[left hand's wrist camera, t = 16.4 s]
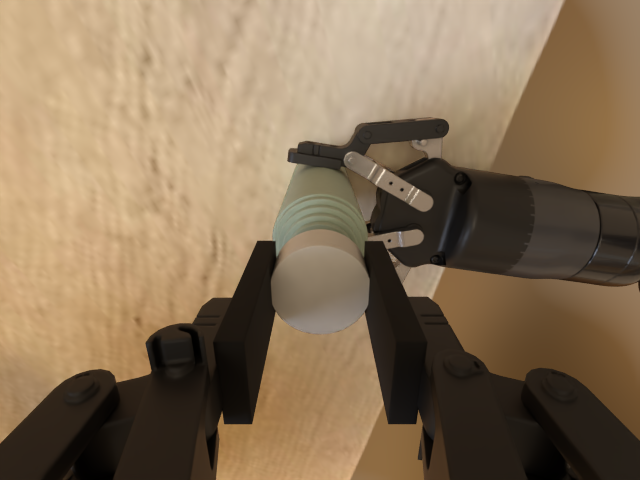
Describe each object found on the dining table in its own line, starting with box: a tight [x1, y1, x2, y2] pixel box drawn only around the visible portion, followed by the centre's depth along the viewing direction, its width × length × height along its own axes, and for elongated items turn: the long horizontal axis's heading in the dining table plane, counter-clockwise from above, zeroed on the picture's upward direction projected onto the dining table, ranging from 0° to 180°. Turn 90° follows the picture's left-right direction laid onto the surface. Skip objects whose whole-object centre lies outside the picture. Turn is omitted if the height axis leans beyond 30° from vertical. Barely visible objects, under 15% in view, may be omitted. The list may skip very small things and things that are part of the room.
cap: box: [271, 229, 370, 334], centre depth 14 cm, size 4×4×2 cm
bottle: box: [273, 164, 368, 257], centre depth 23 cm, size 5×5×20 cm
